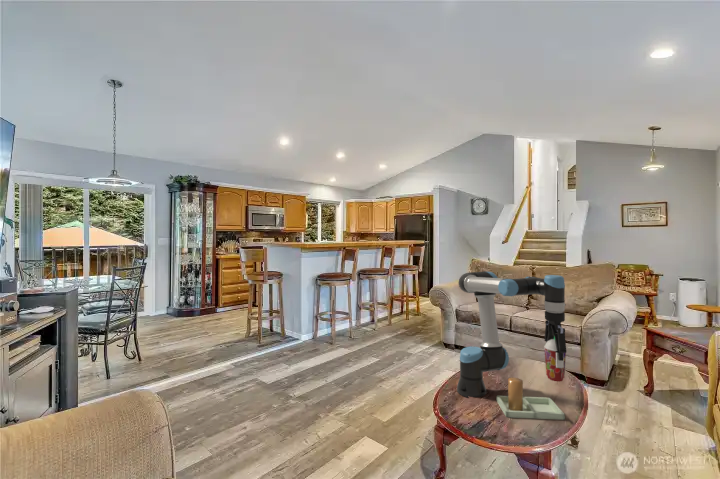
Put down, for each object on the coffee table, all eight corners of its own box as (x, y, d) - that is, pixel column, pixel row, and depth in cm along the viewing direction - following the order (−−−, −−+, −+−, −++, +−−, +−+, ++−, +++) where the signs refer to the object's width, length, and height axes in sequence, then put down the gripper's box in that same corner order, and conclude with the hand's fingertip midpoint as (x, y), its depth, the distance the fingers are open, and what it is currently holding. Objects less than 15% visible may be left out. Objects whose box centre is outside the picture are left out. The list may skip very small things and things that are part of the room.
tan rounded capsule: (510, 412, 160) (510, 383, 160) (506, 405, 167) (506, 377, 166) (524, 412, 159) (524, 383, 159) (520, 405, 166) (519, 377, 166)
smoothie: (571, 381, 144) (570, 334, 143) (557, 384, 141) (556, 337, 140) (553, 373, 152) (553, 329, 151) (539, 376, 148) (539, 331, 148)
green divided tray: (506, 419, 156) (506, 411, 156) (496, 402, 171) (496, 395, 171) (564, 421, 153) (564, 414, 153) (549, 404, 169) (549, 397, 168)
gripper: (576, 317, 135) (576, 373, 135) (553, 306, 156) (553, 354, 156) (556, 317, 136) (556, 372, 136) (536, 305, 157) (536, 354, 157)
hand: (555, 363), depth 146 cm, fingers closed on smoothie, 8 cm apart
